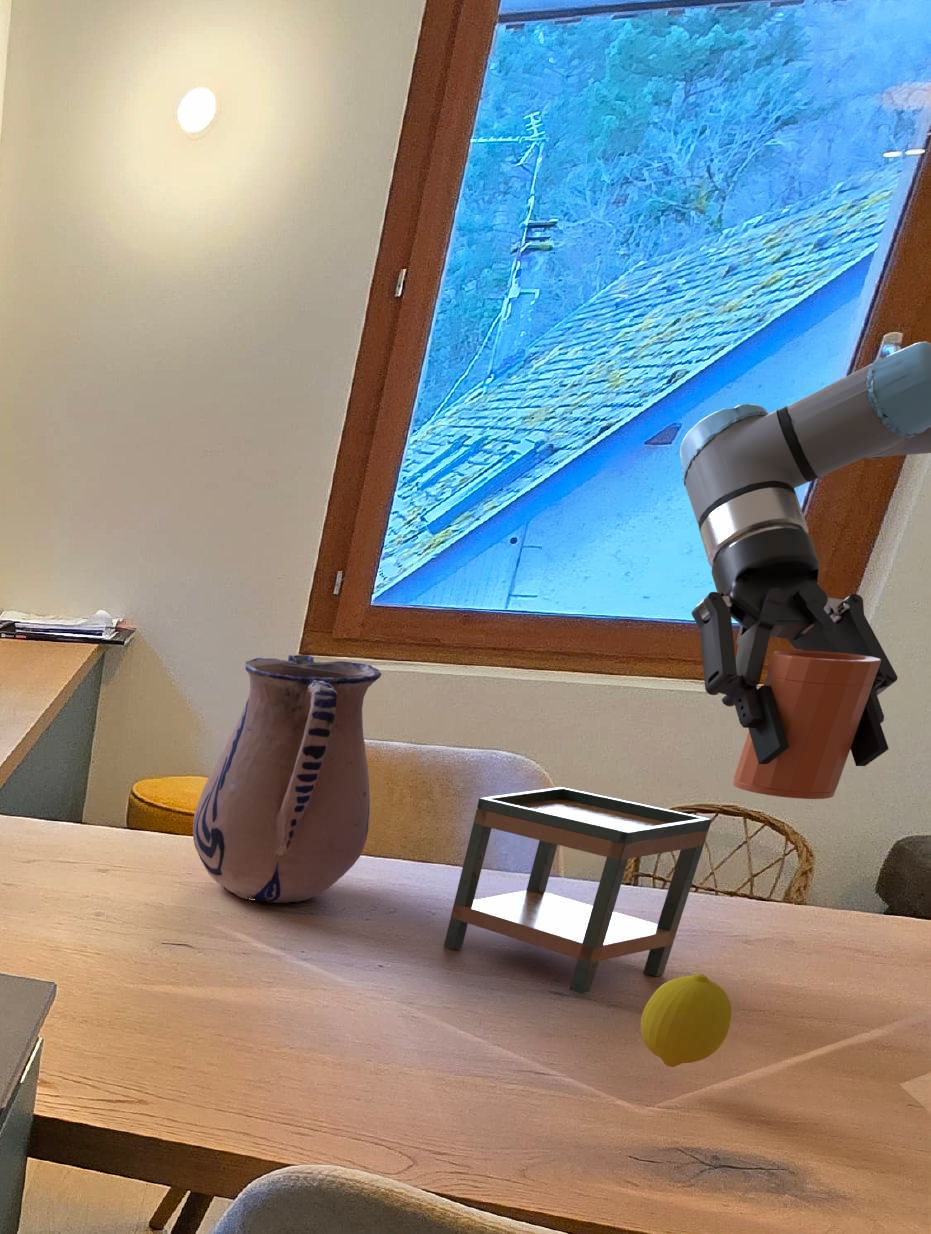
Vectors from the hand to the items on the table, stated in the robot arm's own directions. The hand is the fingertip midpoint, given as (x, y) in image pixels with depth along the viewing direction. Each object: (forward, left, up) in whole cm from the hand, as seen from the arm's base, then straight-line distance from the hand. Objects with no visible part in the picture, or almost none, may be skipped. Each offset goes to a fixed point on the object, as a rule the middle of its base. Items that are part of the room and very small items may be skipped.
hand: (822, 756), depth 116 cm
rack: (+10, +14, -21) cm, 27 cm away
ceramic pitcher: (+36, +23, -21) cm, 47 cm away
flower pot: (+3, -2, -4) cm, 5 cm away
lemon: (-10, +29, -21) cm, 37 cm away
